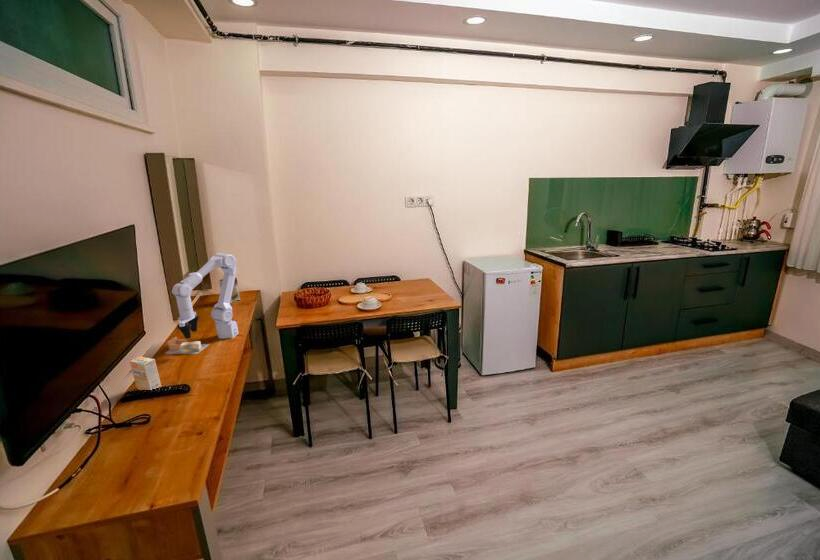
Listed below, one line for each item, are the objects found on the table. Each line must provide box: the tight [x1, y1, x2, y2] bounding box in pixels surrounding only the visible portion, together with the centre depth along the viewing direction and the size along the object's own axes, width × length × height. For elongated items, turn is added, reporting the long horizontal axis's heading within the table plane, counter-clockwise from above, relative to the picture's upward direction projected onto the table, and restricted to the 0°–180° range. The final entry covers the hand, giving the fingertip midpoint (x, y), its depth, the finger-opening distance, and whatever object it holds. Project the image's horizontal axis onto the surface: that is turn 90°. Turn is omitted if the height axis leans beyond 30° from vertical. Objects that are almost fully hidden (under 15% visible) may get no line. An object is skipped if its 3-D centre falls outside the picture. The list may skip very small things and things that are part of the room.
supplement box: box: [129, 355, 162, 391], centre depth 149 cm, size 8×5×13 cm, turn 70°
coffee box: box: [218, 277, 241, 304], centre depth 247 cm, size 9×6×16 cm
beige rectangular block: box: [180, 340, 202, 353], centre depth 180 cm, size 8×3×4 cm, turn 101°
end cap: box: [166, 336, 188, 351], centre depth 184 cm, size 6×6×4 cm
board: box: [164, 343, 211, 355], centre depth 183 cm, size 17×10×1 cm, turn 86°
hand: (191, 334), depth 180 cm, fingers open, 7 cm apart
